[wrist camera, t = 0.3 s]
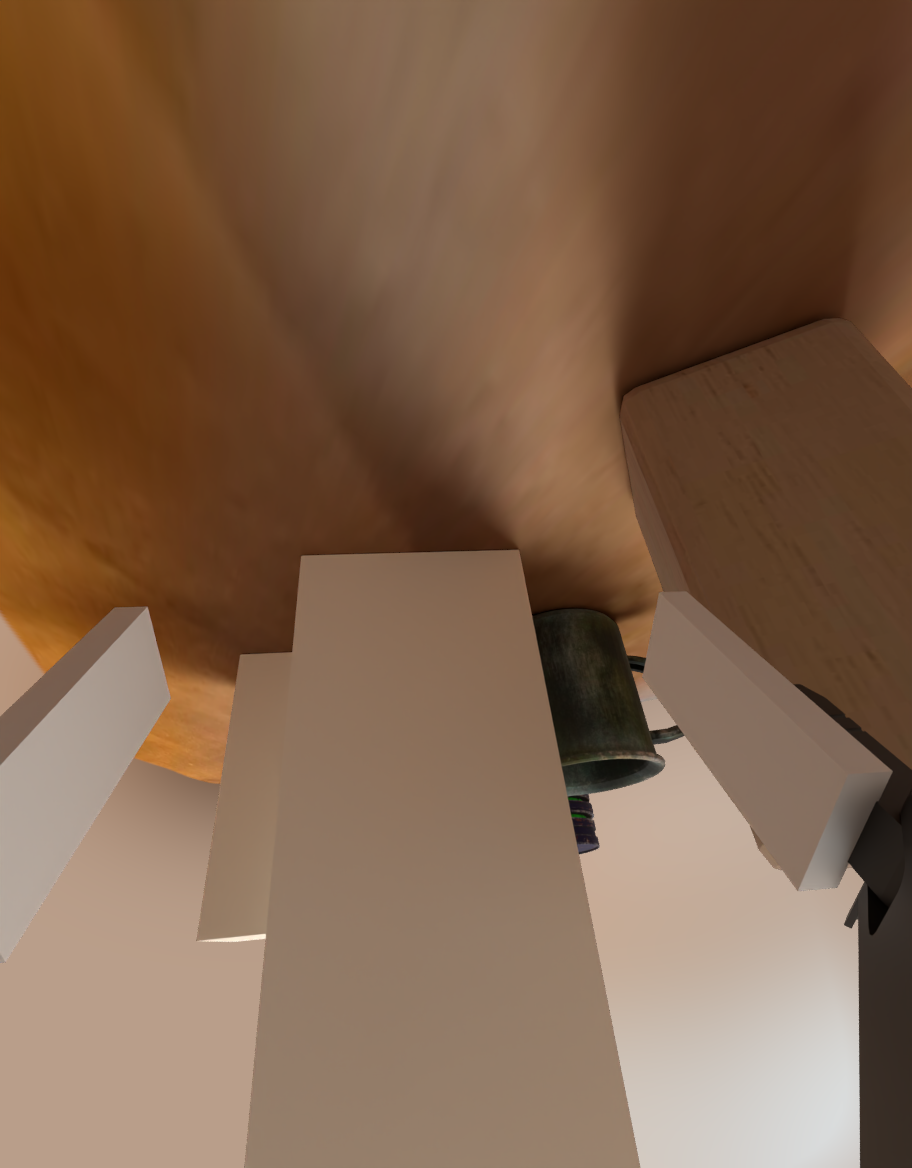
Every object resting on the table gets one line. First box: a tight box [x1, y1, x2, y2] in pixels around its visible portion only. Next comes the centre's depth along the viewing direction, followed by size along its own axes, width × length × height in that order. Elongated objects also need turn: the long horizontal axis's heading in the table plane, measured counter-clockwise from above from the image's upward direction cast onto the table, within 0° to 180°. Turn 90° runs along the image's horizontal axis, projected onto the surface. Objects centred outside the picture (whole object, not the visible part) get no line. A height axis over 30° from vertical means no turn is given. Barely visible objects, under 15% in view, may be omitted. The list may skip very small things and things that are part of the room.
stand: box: [244, 550, 640, 1168], centre depth 30 cm, size 10×14×30 cm
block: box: [620, 318, 912, 870], centre depth 22 cm, size 10×10×20 cm
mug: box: [532, 609, 685, 796], centre depth 42 cm, size 11×15×12 cm
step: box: [196, 652, 292, 942], centre depth 42 cm, size 8×12×20 cm, turn 87°
